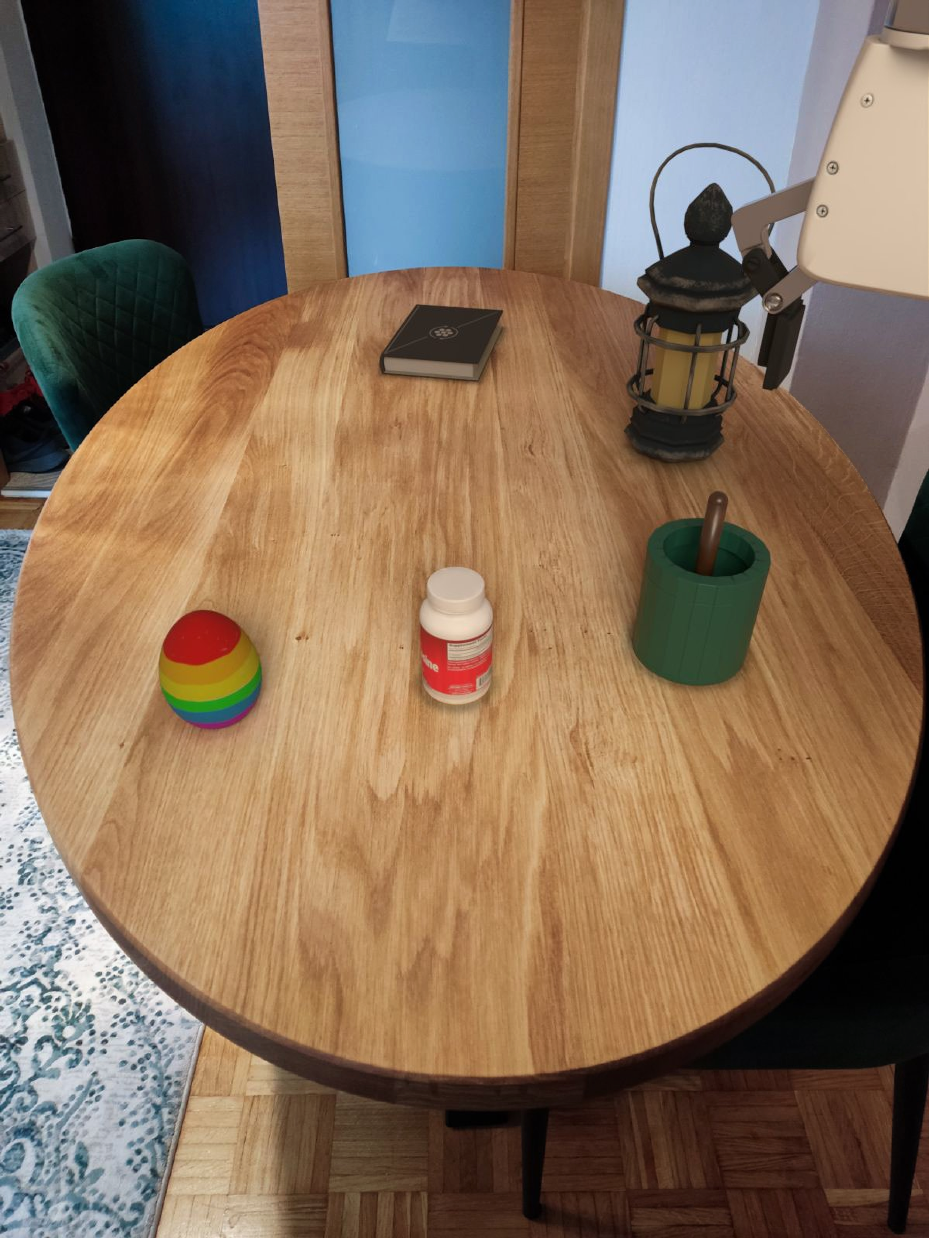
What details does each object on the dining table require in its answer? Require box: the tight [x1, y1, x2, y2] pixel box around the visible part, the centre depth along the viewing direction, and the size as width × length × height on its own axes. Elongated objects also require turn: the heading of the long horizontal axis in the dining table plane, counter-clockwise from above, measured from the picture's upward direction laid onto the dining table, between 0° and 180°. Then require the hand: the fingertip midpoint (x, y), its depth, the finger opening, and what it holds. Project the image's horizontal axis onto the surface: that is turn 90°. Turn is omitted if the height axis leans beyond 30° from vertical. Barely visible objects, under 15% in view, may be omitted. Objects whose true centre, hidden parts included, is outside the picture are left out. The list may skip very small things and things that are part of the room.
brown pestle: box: [694, 490, 729, 577], centre depth 76 cm, size 4×4×16 cm
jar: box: [632, 517, 772, 687], centre depth 78 cm, size 10×10×11 cm
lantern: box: [623, 142, 777, 464], centre depth 101 cm, size 14×13×35 cm
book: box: [378, 303, 504, 383], centre depth 136 cm, size 22×15×3 cm
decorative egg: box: [158, 609, 263, 730], centre depth 72 cm, size 8×8×10 cm
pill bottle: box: [418, 566, 494, 705], centre depth 74 cm, size 6×6×11 cm
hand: (867, 401), depth 46 cm, fingers open, 9 cm apart
